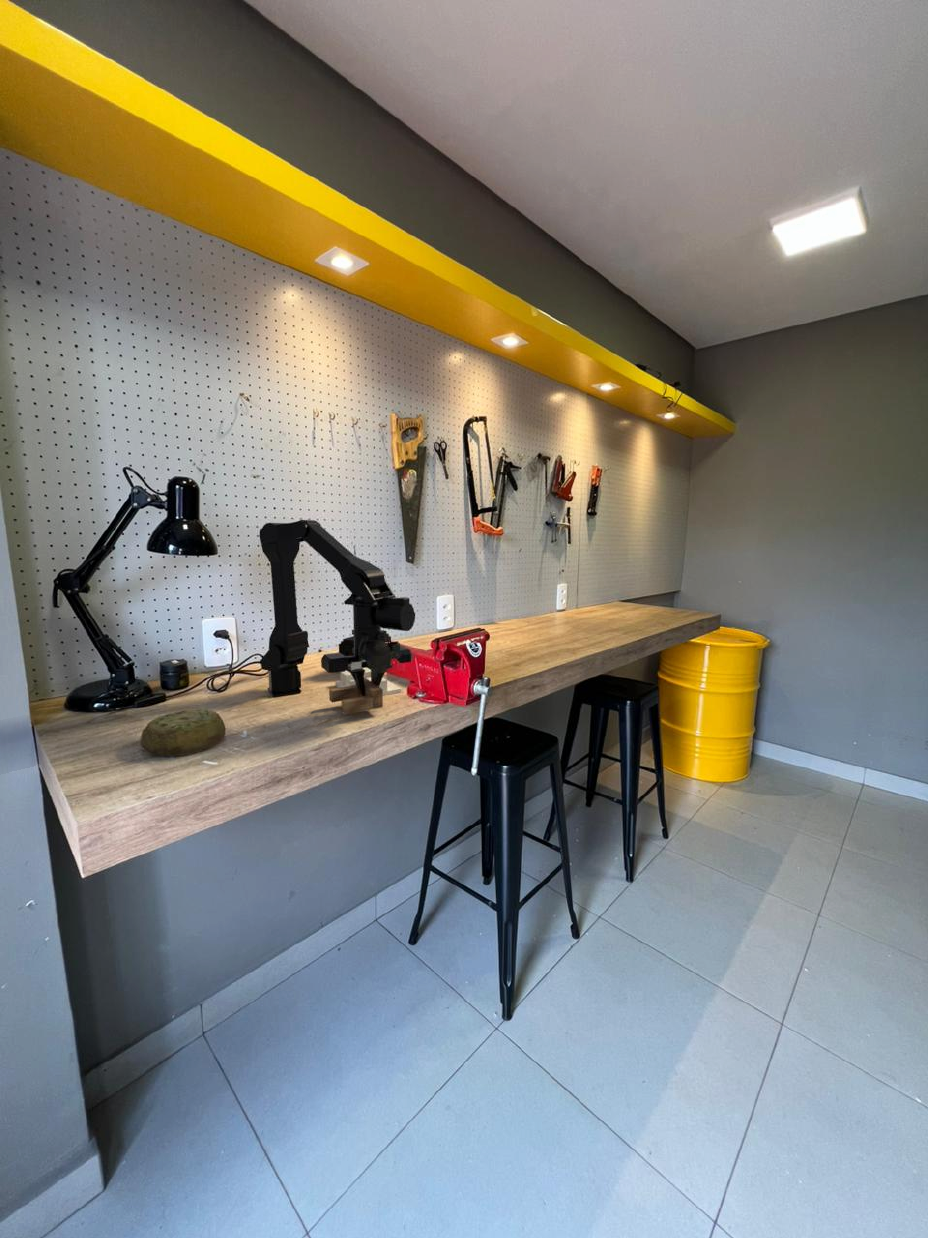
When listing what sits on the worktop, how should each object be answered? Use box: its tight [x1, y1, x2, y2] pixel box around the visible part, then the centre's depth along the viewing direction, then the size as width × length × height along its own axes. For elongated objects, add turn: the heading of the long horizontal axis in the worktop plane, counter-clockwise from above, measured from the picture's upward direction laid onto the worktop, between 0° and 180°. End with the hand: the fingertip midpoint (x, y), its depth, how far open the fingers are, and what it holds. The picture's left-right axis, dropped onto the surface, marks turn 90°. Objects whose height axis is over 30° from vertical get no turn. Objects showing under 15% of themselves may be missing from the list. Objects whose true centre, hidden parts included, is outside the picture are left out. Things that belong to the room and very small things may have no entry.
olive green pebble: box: [140, 708, 226, 757], centre depth 90 cm, size 14×13×5 cm
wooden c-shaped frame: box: [334, 668, 402, 696], centre depth 121 cm, size 12×13×4 cm
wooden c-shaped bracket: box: [328, 677, 384, 715], centre depth 106 cm, size 8×10×4 cm
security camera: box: [338, 629, 392, 670], centre depth 138 cm, size 7×18×10 cm, turn 155°
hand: (368, 696), depth 107 cm, fingers closed on wooden c-shaped bracket, 2 cm apart
